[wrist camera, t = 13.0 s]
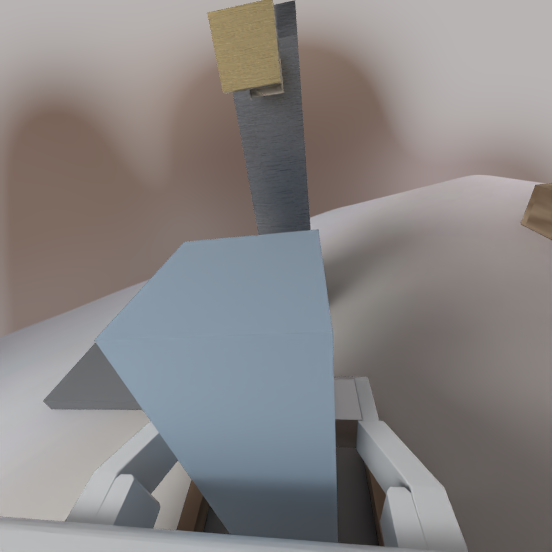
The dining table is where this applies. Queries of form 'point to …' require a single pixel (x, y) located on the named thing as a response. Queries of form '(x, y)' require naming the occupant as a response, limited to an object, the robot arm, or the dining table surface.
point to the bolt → (247, 48)
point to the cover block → (240, 378)
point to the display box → (540, 210)
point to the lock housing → (277, 140)
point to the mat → (92, 386)
